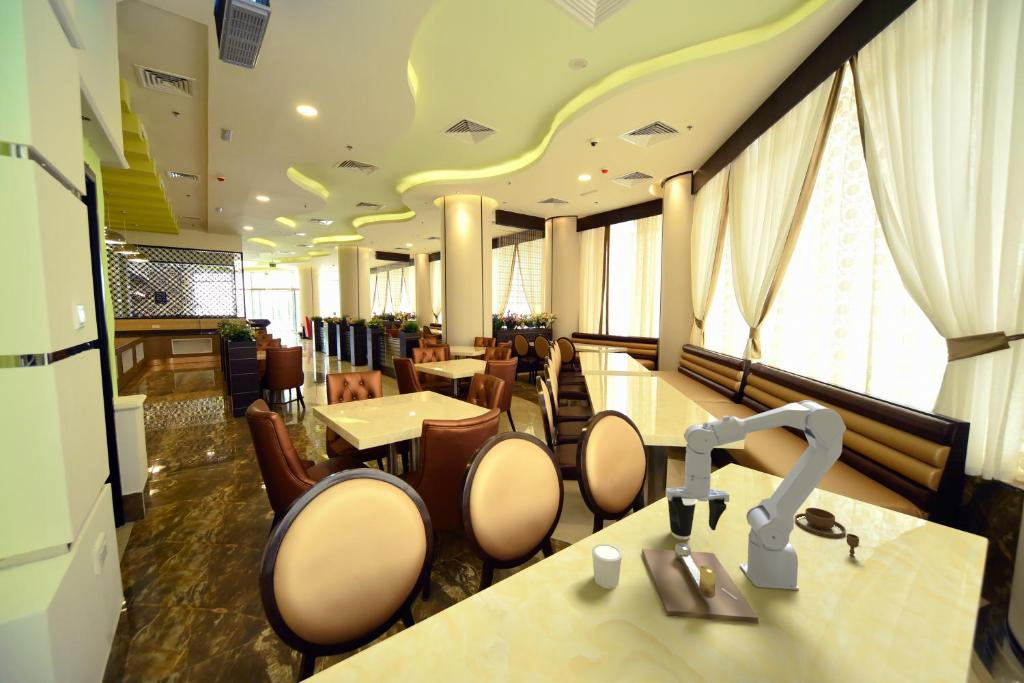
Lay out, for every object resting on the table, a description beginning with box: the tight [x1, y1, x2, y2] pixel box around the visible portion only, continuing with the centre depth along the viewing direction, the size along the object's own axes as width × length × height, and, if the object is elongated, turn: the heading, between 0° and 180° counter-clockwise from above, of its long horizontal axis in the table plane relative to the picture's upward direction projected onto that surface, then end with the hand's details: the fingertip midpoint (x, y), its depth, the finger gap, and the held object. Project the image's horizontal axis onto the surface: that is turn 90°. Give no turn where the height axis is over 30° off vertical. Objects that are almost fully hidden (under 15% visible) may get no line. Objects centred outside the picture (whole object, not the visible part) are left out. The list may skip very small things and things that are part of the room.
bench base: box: [641, 548, 760, 624], centre depth 90 cm, size 18×22×1 cm
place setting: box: [794, 507, 862, 558], centre depth 112 cm, size 18×20×6 cm
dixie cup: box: [667, 498, 698, 541], centre depth 110 cm, size 8×8×11 cm
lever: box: [674, 542, 716, 598], centre depth 89 cm, size 4×18×7 cm, turn 174°
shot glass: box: [591, 543, 623, 589], centre depth 91 cm, size 7×7×7 cm
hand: (696, 527), depth 96 cm, fingers open, 7 cm apart
